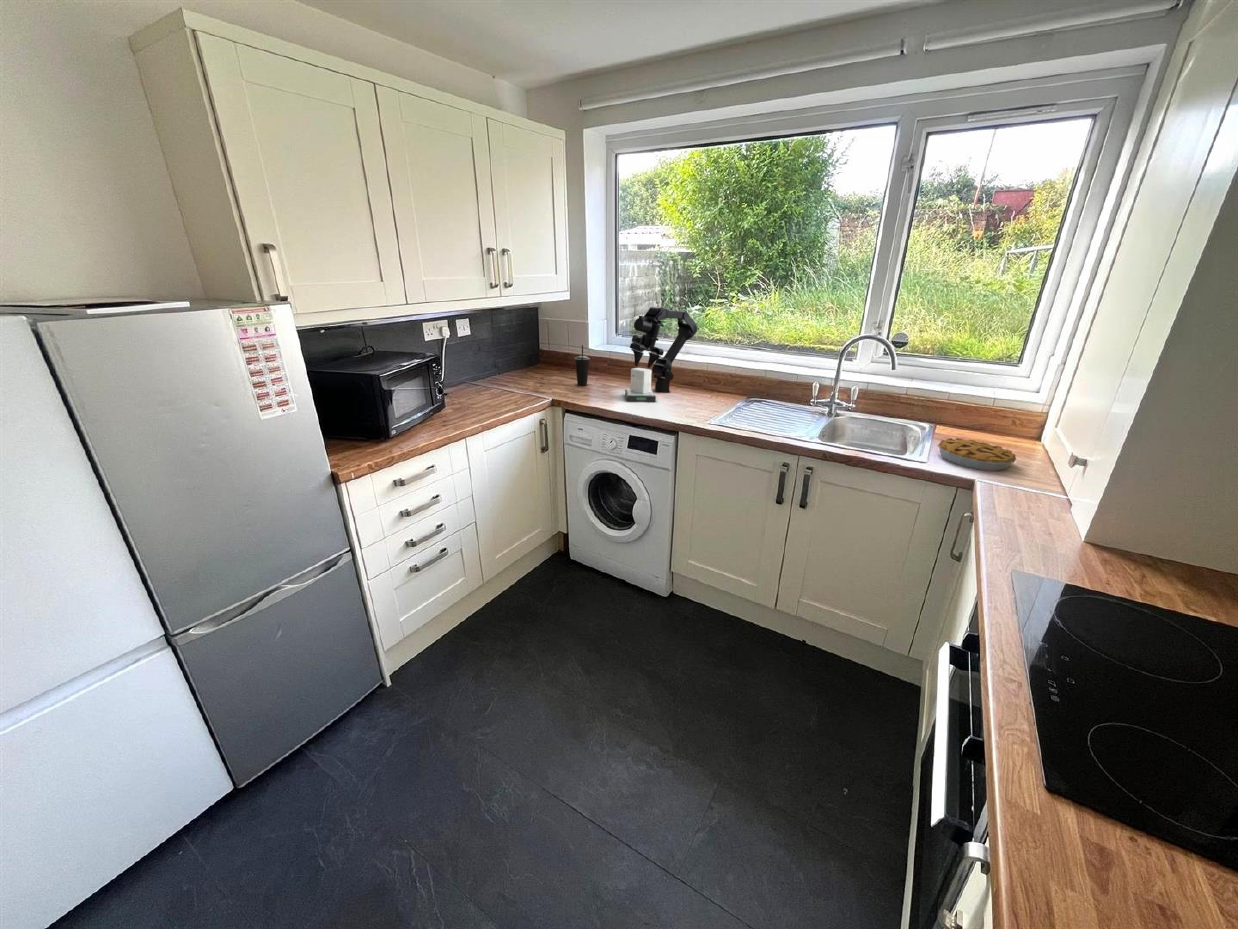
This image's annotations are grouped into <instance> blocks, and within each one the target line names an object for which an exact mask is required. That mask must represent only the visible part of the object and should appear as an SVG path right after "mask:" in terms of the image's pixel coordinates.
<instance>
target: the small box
mask: <svg viewBox="0 0 1238 929" xmlns="http://www.w3.org/2000/svg"><path fill="white" fill-rule="evenodd" d="M652 373H653V370H652V369H650V368H644V367H634V368H631V369H630V389H631V390H630V391H632V392H637V393H641V394H645V393H649V392H651V390H652Z"/></svg>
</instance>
